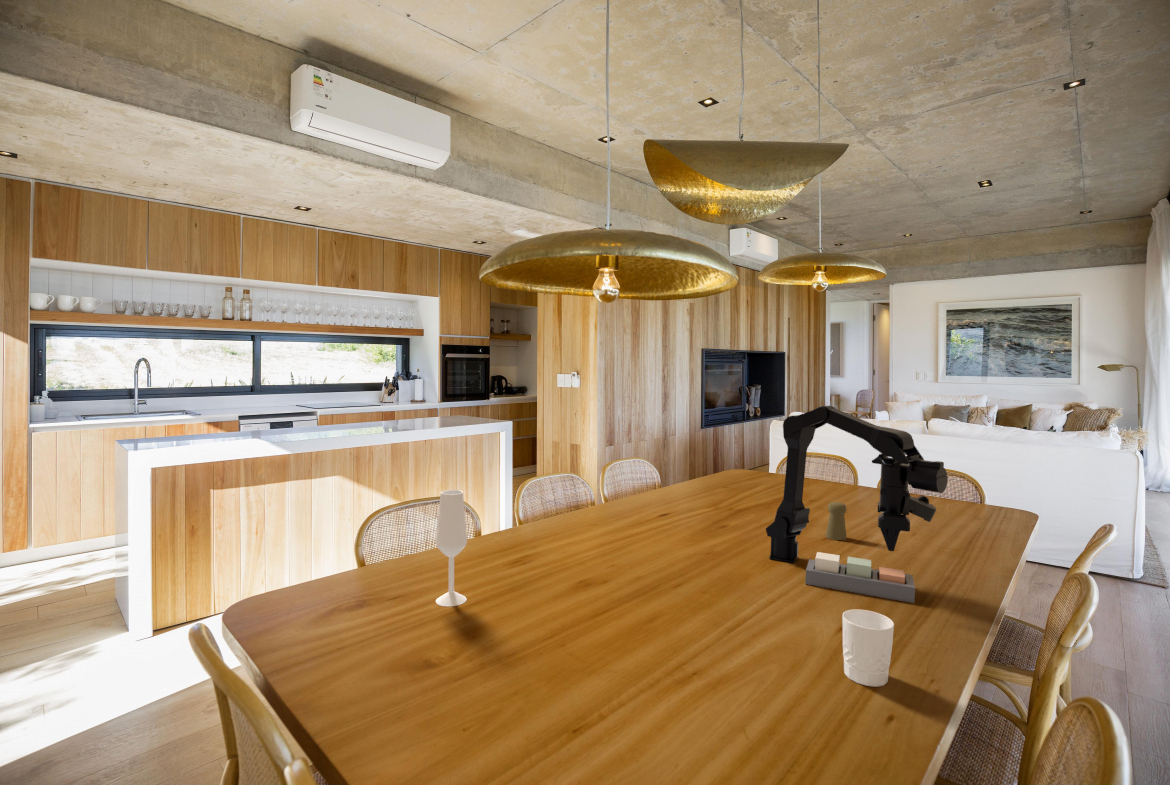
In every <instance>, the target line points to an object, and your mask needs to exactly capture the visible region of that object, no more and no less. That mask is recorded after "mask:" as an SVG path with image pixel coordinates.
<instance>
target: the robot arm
mask: <svg viewBox="0 0 1170 785" xmlns="http://www.w3.org/2000/svg"><path fill="white" fill-rule="evenodd" d="M826 424H828V425H830V426H832V427H834V428H836V429H840V430H841V431H843V432H846V433H848V434H850V435H852V436H855V437H857V438H859V439H861V440H864V441H865V442H867V443H868V444H869V445H870V446H871V447H872V448H873V450H876V451H878V452H879V454H878V455H877V456H876V457H875V458H874V459H872V460H871V463H872V464H877V465H880V486H879V501H878V502H877V513H879V515H878V516H877V527H878V528H879V529H880V532H881V534H882V536H883V539H884V541H885V545H886V548H887V550H888V551H889V552H894V551H895V549H896V546H897V542H898V540H899V535H900V533H901V532H910V531H911V521H910V518H909V517H908V516H910V514H912V515H914V516H916V517H919V518H921V519H923V520H924V521H925V522H929V523H930V522H931V521H932V520H933V517H934V516H935V514H936V512H937V509H936V506H934V505H933V504H932V503H930V500H929V497H927V496H925V495H923V494H921V495H919V496H917V497H915V496H914V497H913V496H912V495H911V494H910V490H909V486H911V487H912V489H915V490H920V491H926V492H931V493H932V492H933V493H938V494H943V493H944V492H945V490H946V488H947V485H948V481H949V479H948V478H949V475H948V473H947V470H946V468H945V467H944V466H945V462H944V461H939V460H936V461H933V460H925V459H924V457H923V456H922V454H921V453H920V451H919V450H918V448H917V446H915V442H914V438H913V435H912V434H910V433H909V432H908V431H905V430H900V429H896V428H892V427H891V428H890V427H886V426H880V425H876V424H873V423H871V422H869V421H867V420H864V419H862V418H859V417H858V416H857V417H856V416H854V415H852V414H850V413H847V412H845V411H843V410H840V409H838V408H836V407H834V406H833V405H820V406H817V408H814V409H812V410H810V411H807V412H804V413H802V414H799V415H798V414H797V415H789V416H788V417H786V418H785V419H783V423H782V433H783V440H784V442H785V444H786V446H787V455H786V465H785V477H784V485H783V486H784V487H783V498H782V500H781V502H780V503H779V505H778V507H777V510H776V513H775V516H774V521H773V522H771V523H770V524H769V525H768V526H767V527H765V532H766V534H767V535H766V536H767V537H769V538H770V554H769V556H768V559H770V560H774V561H775V560H776V561H780V562H781V561H782V562H785V563H795V561H796V560H797V559H798V557H799V541H797V536H800V535H801V533H802V531H803V530H804V529H805V528H806V527H807V524H810V520H809V515H810V511H811V510H810V507H805V504H804V502H803V497H804V496H803V495H804V487H805V486H804V484H805V474H806V473H805V472H806V464H807V452H808V448H809V446H810V445H811V443H812V441H813V439H814V436H815V432H816V429H818V428H821V427H823V426H824V425H826Z"/></svg>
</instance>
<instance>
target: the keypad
mask: <svg viewBox="0 0 1170 785" xmlns="http://www.w3.org/2000/svg"><path fill="white" fill-rule="evenodd" d="M846 573H847V564H844V563H839V573H834V572H828V571H821V570H815V559H810V558H809V559H808V562H807V565H806V569H805V579H804V580H805V585H807V584H808V586H813V585H814V586H813V587H819V588H824V587H825V588H826V589H830V588H832V590H836V589H837V590H836V591H842V590H843V591H842V592H847V591H849V593H853V592H854V594H859V595H864V596H871V597H877V598H883V599H889V600H894V601H901V602H906V603H912V604H914V603H915V596H916V595H915V594H916V592H915V591H916V586H915V581H914V575H912V574H910V573H909V574H907V573H904V574H905V584H901V583H895V582H889V581H883V580H879V569H876V568H871V578H864V577H858V576H852V575H846Z"/></svg>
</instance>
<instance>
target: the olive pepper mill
mask: <svg viewBox="0 0 1170 785" xmlns="http://www.w3.org/2000/svg"><path fill="white" fill-rule="evenodd" d="M827 509H828V512H829V516H828V520H827V527H826V532H825V533H826V534H825V538H826V537H827V538H826V539H828V538H829V539H828V540H831V539H833V540H832V541H836V540H845V541H847V540H846V539H847V538H848V537H847V530H846V519H845V514H846V513H847V506H846V504H845V503H842V502H839V501H838V502H837V501H833V502H830V503H829V504H828V505H827Z"/></svg>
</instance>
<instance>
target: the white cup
mask: <svg viewBox="0 0 1170 785" xmlns="http://www.w3.org/2000/svg"><path fill="white" fill-rule="evenodd" d="M894 629H895V623H894V621H893V620H892V619H891V618H890V617H888V616H886V615H884V614H883V613H882V614H881V613H880V612H879V613H878V612H876V611H872V610H867V609H859V608H857V609H855V608H853V609H847V610H845V611H844V612H843V613H842V657H843V672H844V675H845V676H846V677H847V678H848V679H849V680H851V681H852V682H855V683H856V684H860V685H863V686H866V687H867V686H868V687H873V688H874V687H875V688H877V687H878V688H879V687H883V686H885V685H886V684H887V683H888V680H889V670H890V664H891V660H892V658H891V656H892V650H893V640H894V631H895V630H894Z"/></svg>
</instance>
